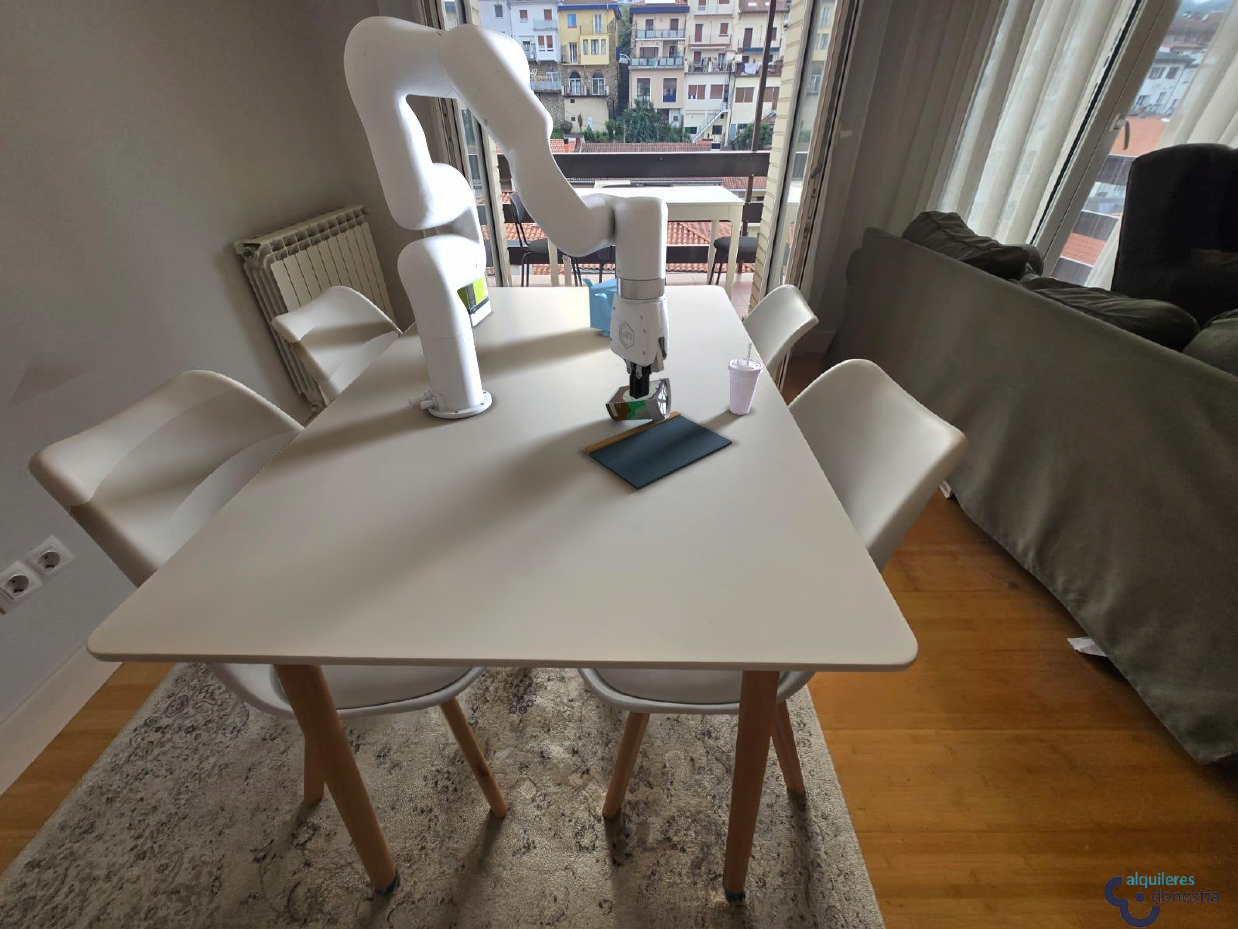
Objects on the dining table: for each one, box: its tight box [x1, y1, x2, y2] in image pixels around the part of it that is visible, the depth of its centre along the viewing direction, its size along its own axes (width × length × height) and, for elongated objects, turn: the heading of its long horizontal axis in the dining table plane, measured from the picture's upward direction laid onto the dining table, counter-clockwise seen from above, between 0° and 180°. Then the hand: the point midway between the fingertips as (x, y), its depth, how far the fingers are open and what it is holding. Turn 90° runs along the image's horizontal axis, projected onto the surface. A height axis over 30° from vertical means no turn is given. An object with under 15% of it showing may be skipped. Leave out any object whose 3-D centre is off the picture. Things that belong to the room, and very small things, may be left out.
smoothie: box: [727, 342, 764, 416], centre depth 97 cm, size 6×6×14 cm
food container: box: [605, 377, 672, 422], centre depth 96 cm, size 12×6×10 cm
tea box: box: [457, 272, 492, 328], centre depth 149 cm, size 15×10×15 cm, turn 172°
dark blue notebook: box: [583, 410, 733, 490], centre depth 89 cm, size 22×14×1 cm, turn 129°
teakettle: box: [581, 277, 616, 337], centre depth 137 cm, size 19×19×15 cm
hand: (639, 395), depth 88 cm, fingers closed
